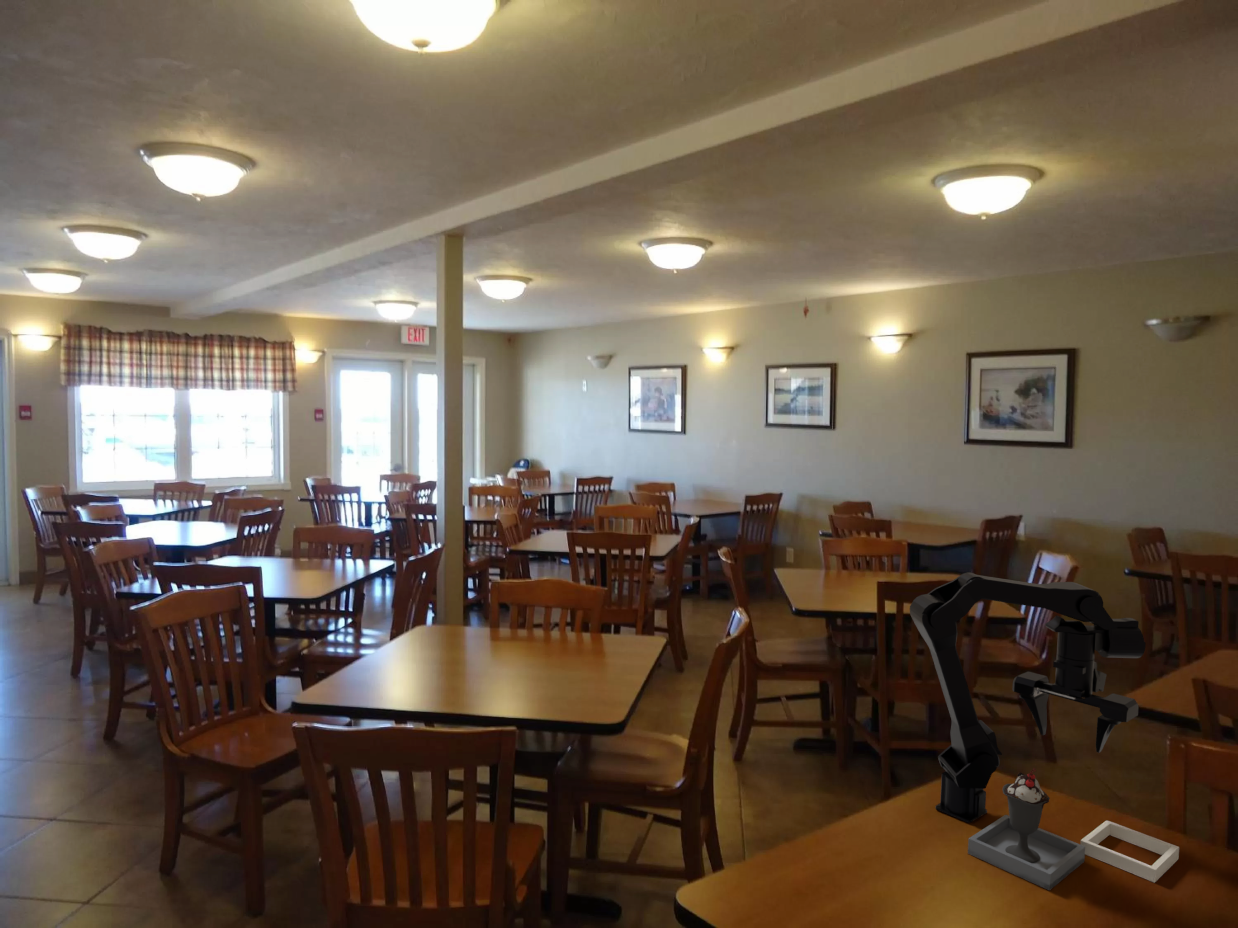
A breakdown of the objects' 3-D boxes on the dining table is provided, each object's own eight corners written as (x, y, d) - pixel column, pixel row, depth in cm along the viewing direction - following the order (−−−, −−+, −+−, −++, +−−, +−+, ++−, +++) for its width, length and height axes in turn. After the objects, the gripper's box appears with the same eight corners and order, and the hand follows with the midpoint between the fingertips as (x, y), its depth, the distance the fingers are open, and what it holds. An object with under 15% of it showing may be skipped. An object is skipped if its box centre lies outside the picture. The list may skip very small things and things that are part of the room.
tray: (967, 853, 130) (968, 838, 130) (1005, 828, 138) (1005, 814, 138) (1049, 890, 120) (1050, 874, 120) (1084, 861, 128) (1085, 846, 128)
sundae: (1033, 871, 124) (1039, 776, 123) (991, 851, 129) (996, 760, 128) (1054, 857, 128) (1059, 765, 127) (1012, 838, 133) (1017, 750, 132)
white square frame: (1079, 851, 131) (1080, 840, 131) (1105, 831, 138) (1106, 819, 138) (1154, 882, 123) (1155, 869, 123) (1178, 858, 130) (1179, 846, 129)
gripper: (1152, 661, 139) (1147, 749, 140) (1040, 636, 154) (1036, 716, 155) (1128, 673, 132) (1122, 766, 133) (1013, 646, 147) (1008, 730, 148)
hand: (1070, 742), depth 142 cm, fingers open, 9 cm apart
